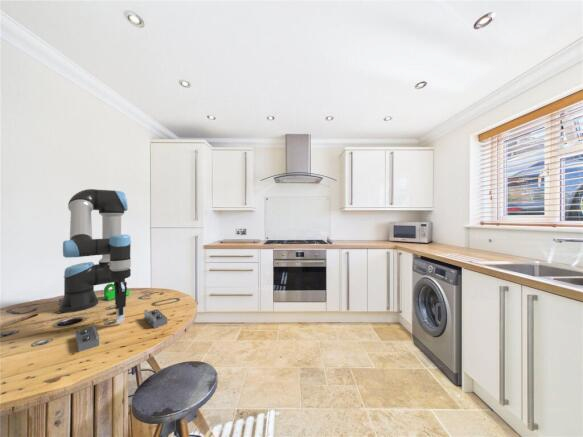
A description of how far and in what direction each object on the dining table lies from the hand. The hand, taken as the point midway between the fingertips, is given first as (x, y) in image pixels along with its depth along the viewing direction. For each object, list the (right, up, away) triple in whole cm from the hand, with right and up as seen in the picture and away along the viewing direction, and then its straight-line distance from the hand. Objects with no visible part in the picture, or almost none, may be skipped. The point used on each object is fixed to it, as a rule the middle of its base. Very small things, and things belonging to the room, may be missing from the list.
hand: (120, 321), depth 99 cm
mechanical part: (-30, -2, +37) cm, 48 cm away
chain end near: (-2, -2, -14) cm, 14 cm away
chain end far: (+14, -2, +3) cm, 14 cm away
